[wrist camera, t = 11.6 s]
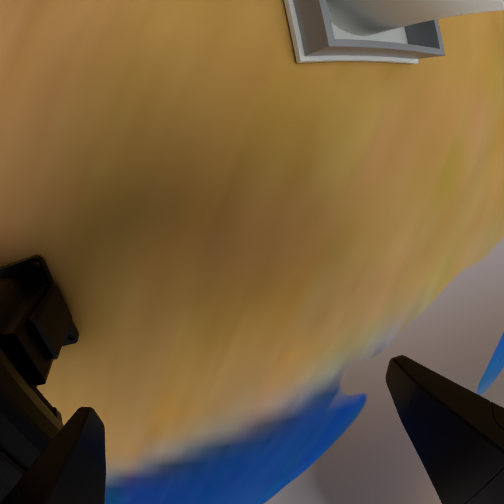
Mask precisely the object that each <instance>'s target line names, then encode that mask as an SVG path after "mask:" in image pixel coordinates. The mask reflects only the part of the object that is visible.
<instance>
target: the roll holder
mask: <svg viewBox="0 0 504 504" xmlns="http://www.w3.org/2000/svg"><path fill="white" fill-rule="evenodd" d="M284 4H285V8H286V13H287V17H288V22H289V26H290V31H291V36H292V41H293V46H294V51H295V56H296V62H297V63H308V62H336V61H364V62H391V63H406V64H418V59H419V58H428V57H437V56H445V52H444V47H443V41H442V36H441V32H440V27H439V23H438V19H436V20H431V21H426V22H421V23H417V24H412V25H408V26H404V27H400V28H396V29H392V30H388V31H385V32H381V33H378V34H374V35H370V36H358V35H354V34H350V33H348V32H346V31H344V30H342V29H340V28H339V27H337V26H336V25H334V24H333V23H332V22H331V19H330V14H329V10H328V6H327V2H326V0H284Z"/></svg>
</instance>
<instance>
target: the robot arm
mask: <svg viewBox="0 0 504 504" xmlns="http://www.w3.org/2000/svg"><path fill="white" fill-rule="evenodd" d="M35 262H38V263H39V266H40V267H38V266H36V265H35ZM70 335H73V336H74V337H71V336H70ZM78 338H79V334H78V332H77V330H76V328H75V326H74V324H73V322H72V316H71V314H70V312H69V310H68V308H67V306H66V304H65V302H64V300H63V297H62V295H61V293H60V291H59V289H58V287H57V286H56V285H55V284H54V282H53V280H52V278H51V275H50V273H49V271H48V268H47V266H46V264H45V261H44V259H43V258H42V257H41V256H38V255H35V256H32V257H29V258H26V259H23V260H21V261H18V262H15V263H12V264H9V265H6V266H4V267H1V268H0V504H104V503H105V481H106V460H105V428H104V424H103V422H102V421H101V419H100V418H99V416H98V415H97V413H96V412H95V410H94V409H93V408H91V407H80V408H79V409H78V410H77V411H76V412H75V413H74V414H73V416H72V417H71V418H70V419H69V420H68V422H67V423H66V424H65V425H63V423H62V417H61V413H60V412H59V411H58V410H57V409H56V408H55V407H52V406H51V404H50V403H49V402H48V401H47V400H46V399H45V397H44V396H43V395H42V394H41V393H40V391H39V390H38V389H37V385H42V384H45V383H46V380H47V377H48V374H49V371H50V368H51V365H52V362H53V360H55V359H57V358H58V355H59V352H60V350H61V347H62V346H65V345H69V344H74V343H76V342H77V341H78ZM386 383H387V386H388V388H389V391H390V393H391V396H392V398H393V401H394V404H395V406H396V409H397V412H398V414H399V417H400V419H401V422H402V423H403V426H404V428H405V430H406V432H407V433H408V435H409V437H410V439H411V441H412V443H413V445H414V447H415V449H416V451H417V453H418V455H419V457H420V459H421V461H422V463H423V465H424V467H425V469H426V471H427V473H428V475H429V477H430V479H431V481H432V484H433V486H434V488H435V490H436V492H437V494H438V496H439V498H440V500H441V503H442V504H504V408H503V407H501V406H499V405H497V404H495V403H493V402H490V401H489V400H487V399H485V398H483V397H481V396H479V395H478V394H476V393H474V392H472V391H470V390H468V389H466V388H464V387H462V386H460V385H458V384H456V383H454V382H453V381H451V380H449V379H447V378H445V377H443V376H442V375H440V374H438V373H436V372H434V371H432V370H430V369H428V368H426V367H425V366H423V365H421V364H419V363H417V362H415V361H413V360H412V359H410V358H408V357H406V356H404V355H400V356H397V357H394V358H392V359H391V360H390V361H389V365H388V369H387V373H386Z"/></svg>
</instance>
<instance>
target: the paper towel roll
mask: <svg viewBox="0 0 504 504" xmlns="http://www.w3.org/2000/svg"><path fill="white" fill-rule="evenodd" d="M326 2H327V6H328V10H329V14H330V19H331V22H332V23H333V24H334V25H336V26H337V27H339V28H340V29H342V30H344V31H346V32H348V33H350V34H354V35H358V36H370V35H374V34H378V33H381V32H385V31H388V30H392V29H396V28H400V27H404V26H408V25H412V24H417V23H421V22H426V21H431V20H436V19H441V18H446V17H452V16H458V15H465V14H472V13H479V12H488V11H498V10H504V0H326Z"/></svg>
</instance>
